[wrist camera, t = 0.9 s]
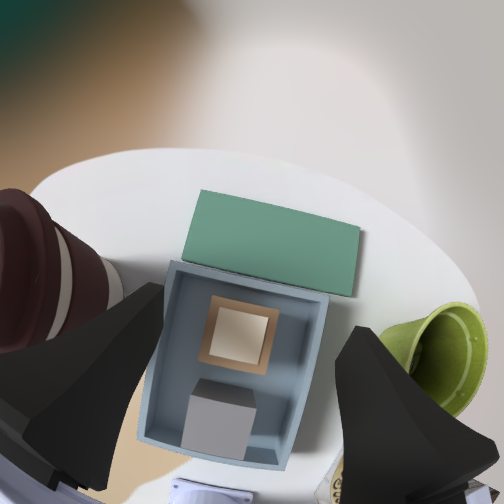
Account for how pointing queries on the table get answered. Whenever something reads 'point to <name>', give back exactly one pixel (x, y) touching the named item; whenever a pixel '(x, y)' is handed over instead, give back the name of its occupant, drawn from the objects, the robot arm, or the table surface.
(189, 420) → the plain block
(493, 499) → the coffee box
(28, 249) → the coffee cup
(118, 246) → the table surface
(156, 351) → the bin
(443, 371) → the plant pot
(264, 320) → the labelled block
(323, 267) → the mat
